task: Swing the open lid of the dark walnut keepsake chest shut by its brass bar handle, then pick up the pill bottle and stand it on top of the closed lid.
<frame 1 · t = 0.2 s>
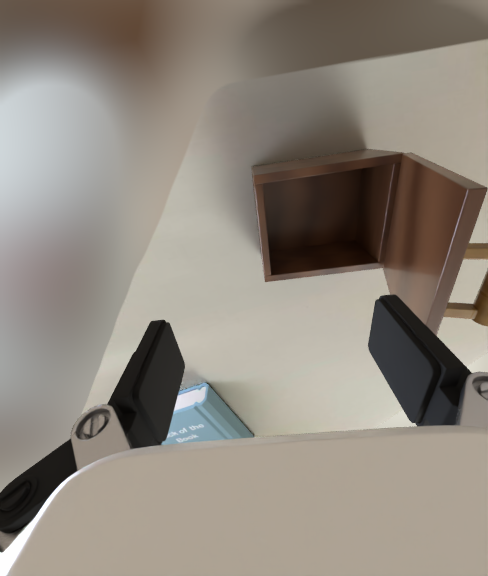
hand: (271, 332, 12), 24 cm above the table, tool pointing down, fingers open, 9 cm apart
chest: (308, 207, 32), on the table
book: (204, 419, 58), on the table
lid: (441, 247, 19), point 16 cm above the table, hinge at 72.0°
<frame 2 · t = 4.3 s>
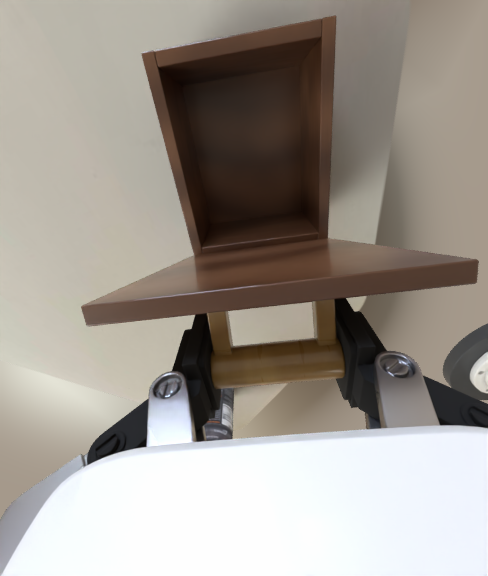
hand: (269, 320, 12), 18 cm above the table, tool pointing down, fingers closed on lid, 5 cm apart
chest: (248, 155, 25), on the table
pill bottle: (217, 387, 44), on the table
lid: (266, 294, 15), point 16 cm above the table, hinge at 72.0°, touching gripper
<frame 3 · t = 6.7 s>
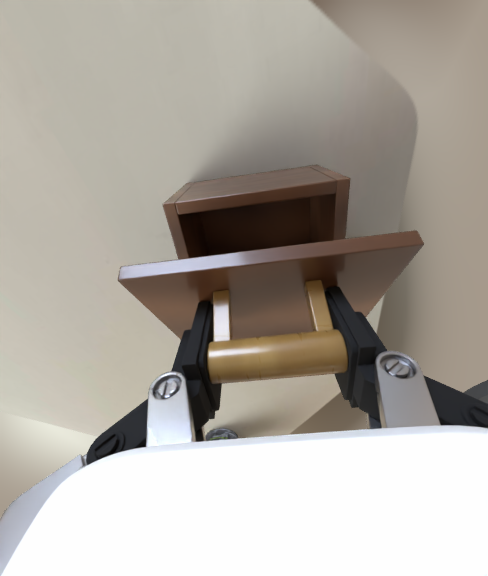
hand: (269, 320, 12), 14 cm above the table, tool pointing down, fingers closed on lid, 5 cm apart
chest: (258, 246, 25), on the table
pill bottle: (222, 435, 44), on the table
lid: (272, 353, 15), point 13 cm above the table, hinge at 28.7°, touching gripper
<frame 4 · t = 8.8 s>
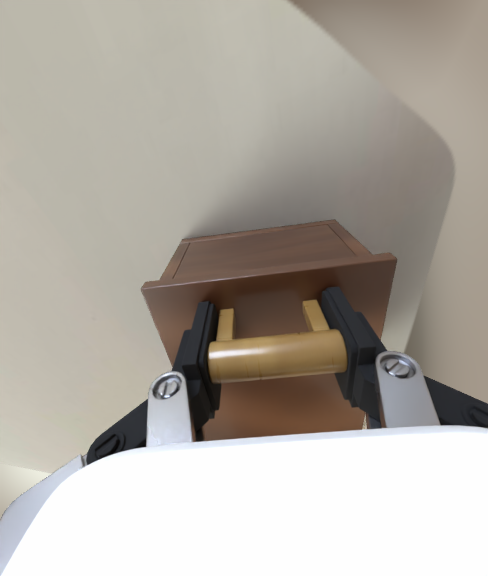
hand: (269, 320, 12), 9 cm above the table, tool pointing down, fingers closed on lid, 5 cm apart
chest: (264, 302, 22), on the table
lid: (278, 403, 14), point 10 cm above the table, hinge at -0.2°, touching chest, gripper
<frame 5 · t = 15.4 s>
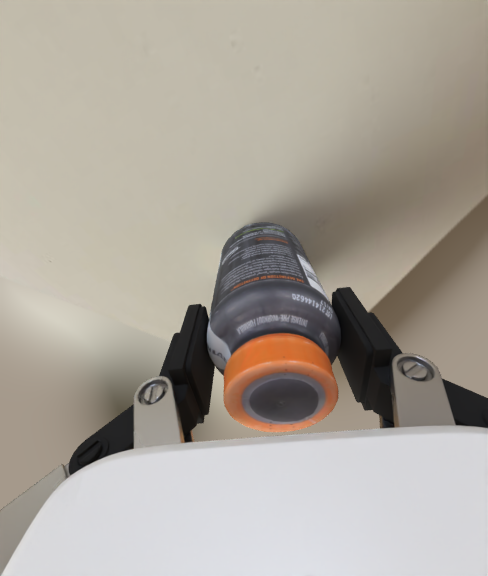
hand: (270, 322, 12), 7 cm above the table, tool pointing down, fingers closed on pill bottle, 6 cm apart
pill bottle: (261, 259, 18), on the table, touching gripper
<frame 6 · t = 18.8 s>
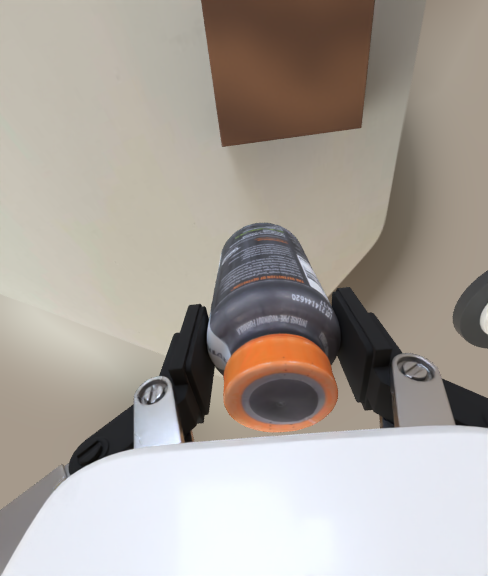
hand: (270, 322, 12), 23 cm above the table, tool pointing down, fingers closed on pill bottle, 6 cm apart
pill bottle: (261, 260, 18), point 16 cm above the table, touching gripper
lid: (292, 5, 16), point 10 cm above the table, hinge at -0.2°, touching chest
when the fingers open (16 cm above the table, at t = 22.1 s): pill bottle stays where it is, resting on lid.
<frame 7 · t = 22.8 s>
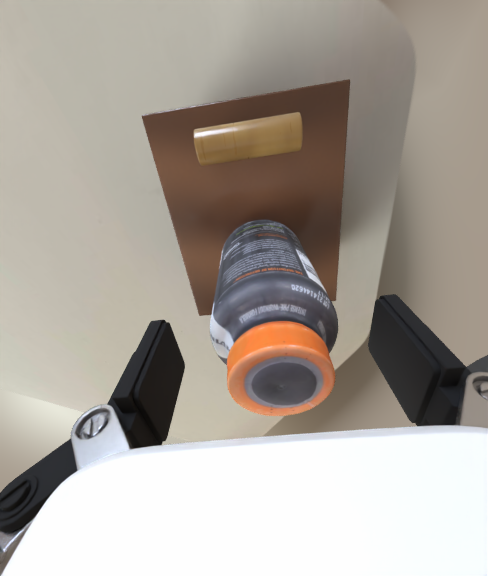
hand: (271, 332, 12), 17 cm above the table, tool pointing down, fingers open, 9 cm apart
pill bottle: (261, 256, 19), point 8 cm above the table, touching lid
lid: (258, 232, 16), point 10 cm above the table, hinge at -0.2°, touching chest, pill bottle
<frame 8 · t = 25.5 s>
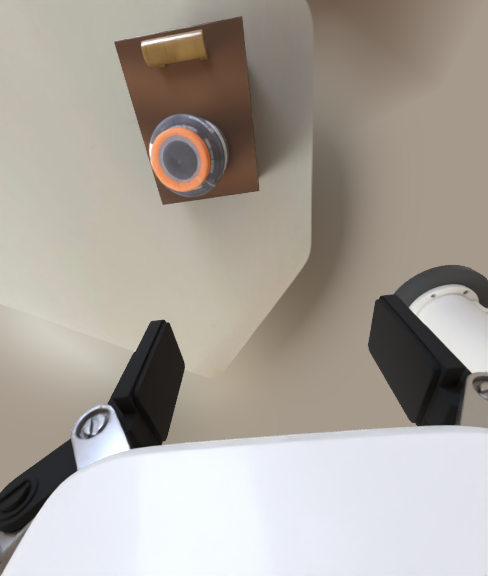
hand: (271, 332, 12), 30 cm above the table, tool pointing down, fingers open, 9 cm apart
pill bottle: (202, 152, 27), point 8 cm above the table, touching lid
lid: (193, 125, 24), point 10 cm above the table, hinge at -0.2°, touching chest, pill bottle
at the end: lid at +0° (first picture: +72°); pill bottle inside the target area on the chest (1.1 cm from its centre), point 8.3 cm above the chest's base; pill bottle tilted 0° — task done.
